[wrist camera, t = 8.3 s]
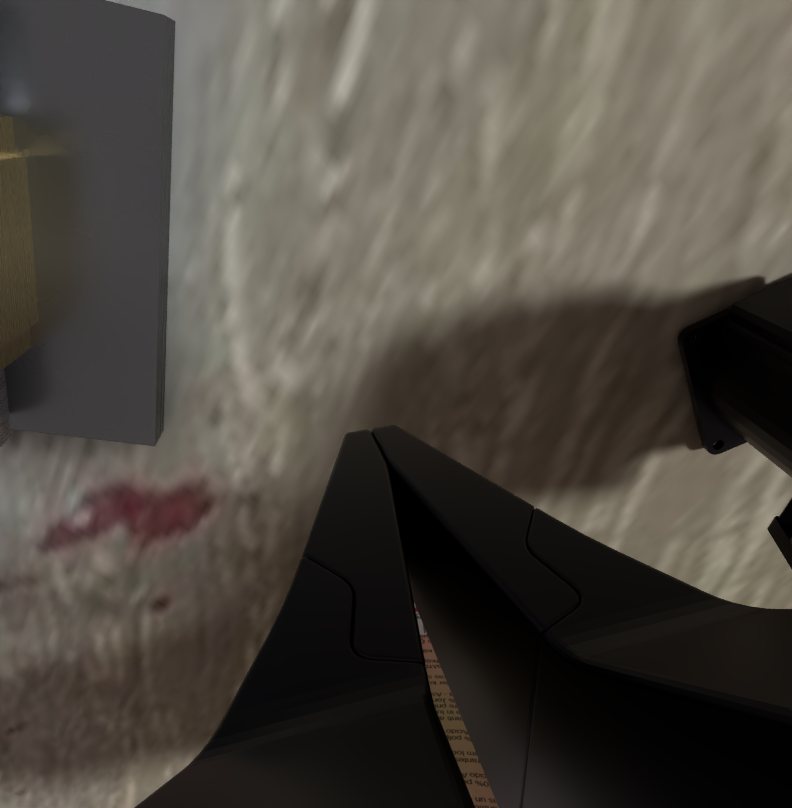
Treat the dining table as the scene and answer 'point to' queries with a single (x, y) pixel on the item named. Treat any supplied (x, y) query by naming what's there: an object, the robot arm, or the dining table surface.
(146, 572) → the dining table surface
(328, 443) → the dining table surface
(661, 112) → the dining table surface
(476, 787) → the fruit juice
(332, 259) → the dining table surface
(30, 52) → the valve base
